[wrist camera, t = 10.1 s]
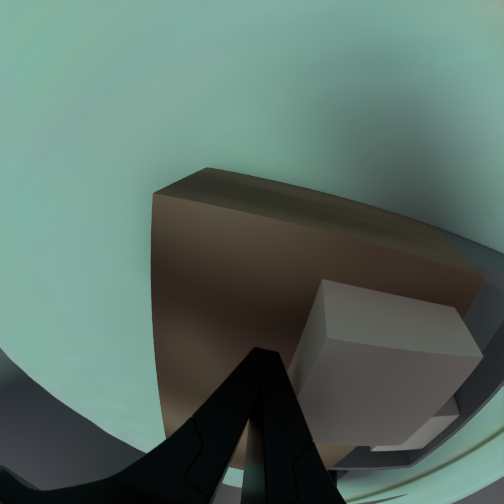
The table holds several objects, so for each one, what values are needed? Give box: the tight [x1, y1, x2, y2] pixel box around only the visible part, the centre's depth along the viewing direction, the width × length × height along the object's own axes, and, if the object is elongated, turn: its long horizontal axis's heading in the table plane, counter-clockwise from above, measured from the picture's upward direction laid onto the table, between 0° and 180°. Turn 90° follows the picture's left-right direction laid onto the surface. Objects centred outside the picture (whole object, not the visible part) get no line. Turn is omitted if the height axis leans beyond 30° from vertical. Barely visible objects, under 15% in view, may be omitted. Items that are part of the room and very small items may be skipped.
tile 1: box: [287, 279, 483, 446], centre depth 8 cm, size 5×5×2 cm
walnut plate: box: [151, 168, 485, 471], centre depth 13 cm, size 18×11×5 cm, turn 170°
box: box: [329, 226, 504, 470], centre depth 13 cm, size 18×9×4 cm, turn 170°
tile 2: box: [370, 395, 460, 451], centre depth 15 cm, size 5×5×2 cm
